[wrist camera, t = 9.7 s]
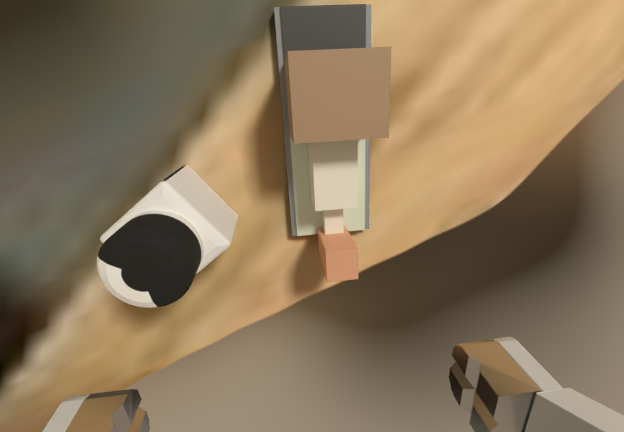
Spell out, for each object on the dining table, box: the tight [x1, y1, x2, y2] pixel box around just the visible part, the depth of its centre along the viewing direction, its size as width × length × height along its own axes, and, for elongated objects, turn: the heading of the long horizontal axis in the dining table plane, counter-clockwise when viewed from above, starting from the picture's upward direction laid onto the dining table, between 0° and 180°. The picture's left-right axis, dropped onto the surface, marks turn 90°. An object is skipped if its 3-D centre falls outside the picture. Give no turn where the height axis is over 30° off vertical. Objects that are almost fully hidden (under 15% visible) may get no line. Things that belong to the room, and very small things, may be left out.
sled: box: [308, 140, 358, 282], centre depth 29 cm, size 12×4×5 cm, turn 3°
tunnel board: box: [274, 4, 391, 236], centre depth 27 cm, size 20×8×8 cm, turn 3°
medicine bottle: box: [97, 165, 238, 308], centre depth 26 cm, size 7×7×12 cm
